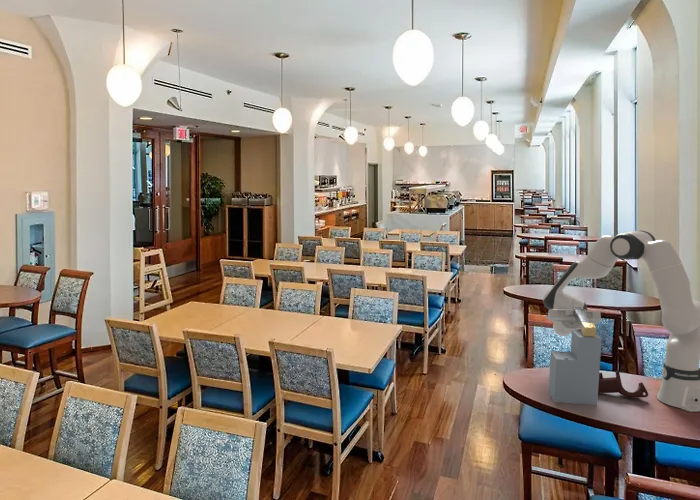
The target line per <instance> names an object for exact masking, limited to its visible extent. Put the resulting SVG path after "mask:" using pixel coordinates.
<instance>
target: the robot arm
mask: <svg viewBox="0 0 700 500" xmlns="http://www.w3.org/2000/svg"><path fill="white" fill-rule="evenodd" d="M619 259H620V260H640V259H642V260H643V261H644V262H645V263H646V265H647V267H648V269H649V272H650V275H651V277H652V279H653V282H654V284H655V288H656V291H657V293H658V299H659V303H660V310H661V324H662V326H663V327H664V329H665V330H666V331H668V332H670V334H669V336H668V339H667V342H666V344H665V357H664V358H665V359H664V362H663V364H662V365H663V366H662V374H661V375H662V380H661V385H660V389H659V391H658V393H657V395H656V398H657V399H658V401H660V402H661V403H664V404H665V405H668V406H672V407H675V408H678V409H682V410H683V411H686V412H689V413H692V412H693V413H694V412H700V300H697V299H693V298H692V292H691V281H690V279H689V277H688V275H687V272H686V269H685V267H684V265H683V261H682V260H681V258H680V256H679V254H678V252H677V250H676V249H675V247H674V246H673V245H672V243H671V242H669V240H667V239H656V238H655V236H654V235H653V234H652V233H651V232H648V231H645V230H630V231H625V232H621V233H618V234H616V235H615V236H614V235H610V234H604V235H602V236H600V237H598V239H597V240H596V242H595V243H594V244H593V245H592V247H591V248H590V250H589V252H588V253H587V254H586V256H585V257H584V258H582V259H580V260H576V261H574V262H572V263H571V264H570V265H569V266H568V268H567V269H566V270H565V271H564V272H563V274H562V275H561V276H560V277H559V278H558V279H557V281H556V282H554V284H553V286H552V287H550V288H549V289H548V290H547V291H546V292H545V293H544V296H543V298H542V302H543V305H544V307H545V308H546V309H547V310H548V313H547V315H545V319H548V321H550V322H553V325H552V329H553V331H554V333H555V334H556V335H558V336H560V337H566V336H569V335H572V330H581V328H580V326H579V325H578V323H577V321H576V319H575V317H574V315H573V314H574V313H575V311H574V309H573V307H581V308H582V310H583V311H584V313H585V315H586V316H587V318H588V320H589V321H590V323H594V325H595V326H596V324H598V323H599V322H600V321H601V319H602V318H601V317H602V316H601V315H602V314H601V311H598V310H588V306H587V304H586V301H584V300H583V299H580V298H578V297H576V296H573V295H571V294H570V293H567V292H565V291H564V289H565V288H566V287H567V285H568V284H570V282H571V281H572V280H575V279H577V278H578V279H591V280H592V279H594V280H596V279H601V278H605V277H606V276H607V275H609V273H610V272H611V271H612V269H613V267H614V266H615V264H616V262H617V261H618V260H619Z"/></svg>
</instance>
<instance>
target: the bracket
mask: <svg viewBox="0 0 700 500" xmlns="http://www.w3.org/2000/svg"><path fill="white" fill-rule="evenodd" d="M621 379H622V378H621V375H620V371H619V370H618V369H617V370H616V371H615V376H613V377H612V376H611V377H604V376H603V372H599V385H598V395H599V394H613V393H618V394H620V395H621V396H623V397H624V398H626V399H636V398H637V399H638V398H642V399H643V398H647V397H648V396H649V392H648V390H647V388H646V386H645V384H644V383H643V382H638V384H637V385H638V387H637V389H636V390H635V391H634V392H630V391H628V390H626V389H625V388H624V387H623V383H622V380H621Z"/></svg>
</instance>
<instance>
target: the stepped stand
mask: <svg viewBox="0 0 700 500" xmlns="http://www.w3.org/2000/svg"><path fill="white" fill-rule="evenodd" d="M570 340H571V342H570V351H561V350H559V351H558V350H550V357H549V359H550V360H549V374H548V375H549V377H548V393H549V395H550V398H551V399H552V401H553V402H554V403H563V404H564V403H565V404H578V405H591V406H592V405H593V406H595V405H596V406H597V405H598V398H599V397H598V395H599V394H598V385H599V373H600V369H601V367H600V366H601V354H602V337H601V336H600V335H599V334H598V333H596V334H595V337H584V336H583V335H582V333H581V329H577V330H572V333H571V338H570Z"/></svg>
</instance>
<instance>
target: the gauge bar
mask: <svg viewBox="0 0 700 500" xmlns="http://www.w3.org/2000/svg"><path fill="white" fill-rule="evenodd" d="M573 309H574V311H575V313H574V314H573V315H574V317H575V319H576V321H577V323H578V325H579V326H580V328H581V329H580V330H581V333H582V335H583V336H584V337H595V334H597V327H596V324H595V325H594V323H590V321H589V320H588V318H587V316H586V315H585V313H584V311H583V310H582V308H581V307H573Z"/></svg>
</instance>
